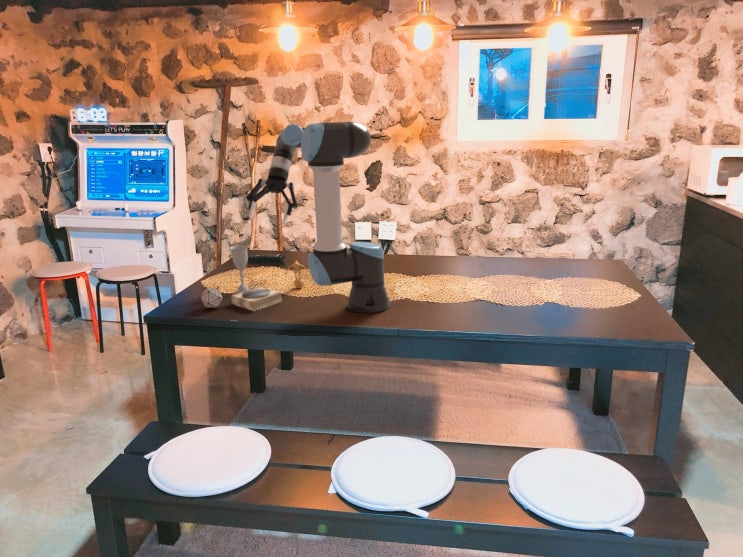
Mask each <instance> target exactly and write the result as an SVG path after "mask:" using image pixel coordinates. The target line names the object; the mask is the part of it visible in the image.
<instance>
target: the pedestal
mask: <svg viewBox="0 0 743 557" xmlns="http://www.w3.org/2000/svg"><path fill="white" fill-rule="evenodd" d="M282 296H283V295H282V293H281V292H279V291H276V290H271V289H270V288H269V289H268V288H266V287H261V286H257V287H254V288H251V289H249V290H247V291H244V292H241V293H237V292H236V293H235V294H231V304H232V305H233V306H235V307H239V308H242V309H246V310H249V311H251V310H252V311H251V312H257V311H260V310H263V309H266V308H268V307H271V306H274V305H278V304H279V303H282V302H283V300H282V299H283V298H282ZM262 308H263V309H262ZM259 309H260V310H259ZM256 310H257V311H256Z"/></svg>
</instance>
